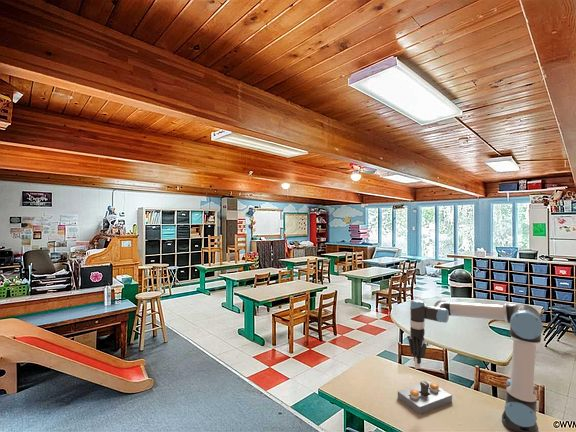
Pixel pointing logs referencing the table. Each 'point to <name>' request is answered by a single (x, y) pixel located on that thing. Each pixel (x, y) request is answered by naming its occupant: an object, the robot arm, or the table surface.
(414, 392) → the knob near
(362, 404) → the table surface
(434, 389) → the knob far
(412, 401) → the panel
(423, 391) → the dial
